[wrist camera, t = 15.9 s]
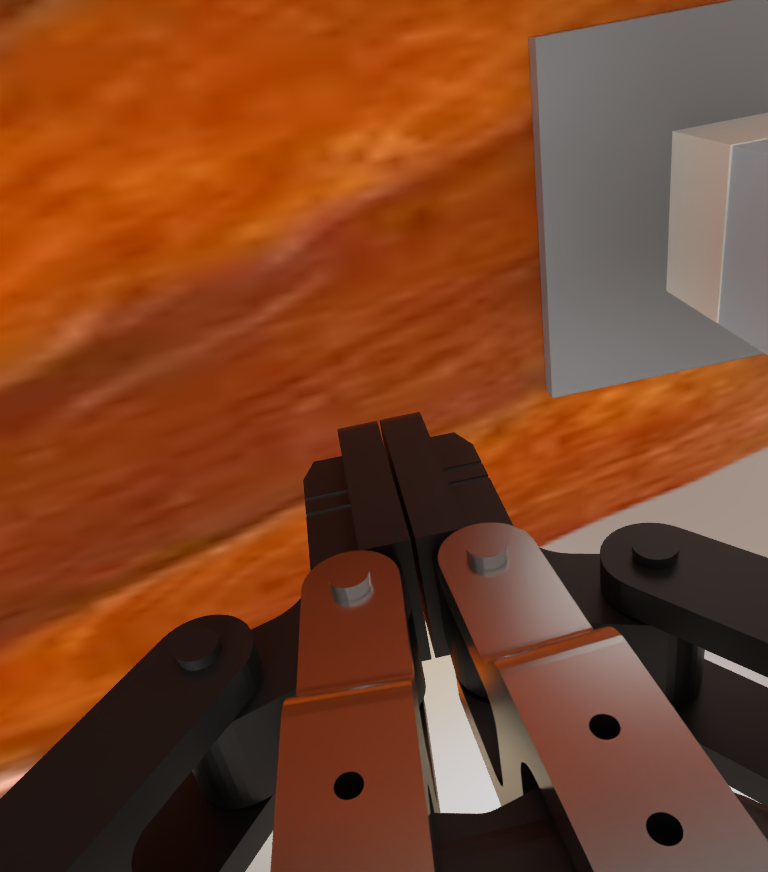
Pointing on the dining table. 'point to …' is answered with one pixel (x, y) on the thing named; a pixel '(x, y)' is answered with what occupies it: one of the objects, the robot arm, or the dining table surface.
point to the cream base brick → (703, 207)
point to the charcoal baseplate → (630, 183)
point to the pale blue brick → (747, 247)
